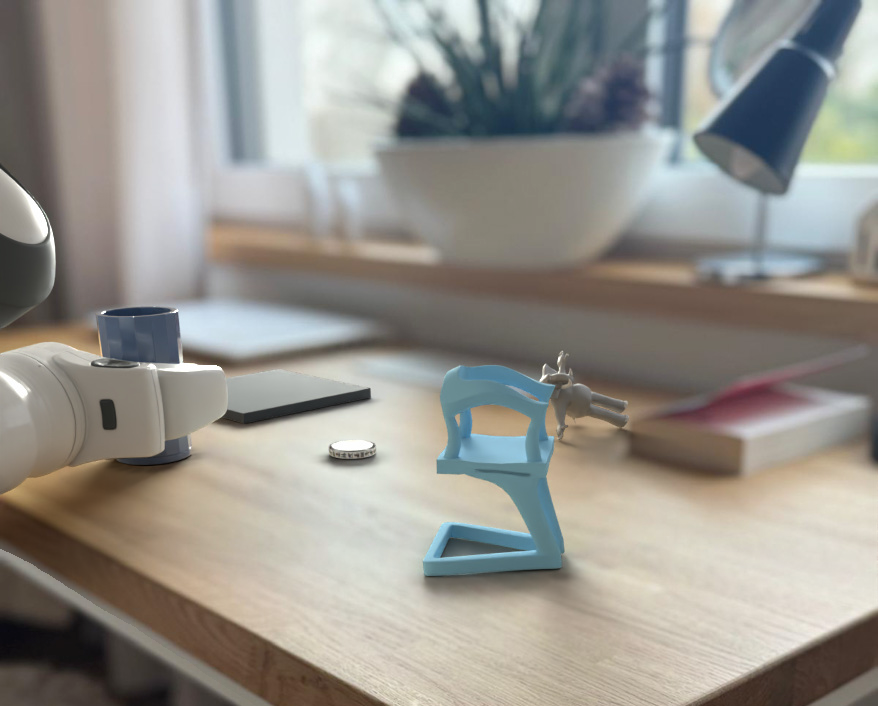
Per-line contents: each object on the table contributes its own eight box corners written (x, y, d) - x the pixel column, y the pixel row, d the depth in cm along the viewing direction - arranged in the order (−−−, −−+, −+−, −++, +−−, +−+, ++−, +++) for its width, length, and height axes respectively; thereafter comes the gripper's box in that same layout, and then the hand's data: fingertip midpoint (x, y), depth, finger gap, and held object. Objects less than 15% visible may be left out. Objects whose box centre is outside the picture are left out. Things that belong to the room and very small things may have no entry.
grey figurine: (643, 442, 95) (551, 412, 92) (607, 477, 100) (520, 449, 97) (640, 355, 100) (553, 324, 97) (606, 392, 104) (523, 363, 102)
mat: (155, 399, 113) (154, 390, 113) (279, 377, 124) (278, 368, 123) (244, 423, 103) (243, 413, 102) (371, 397, 113) (370, 387, 112)
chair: (559, 583, 64) (565, 381, 59) (421, 576, 65) (417, 378, 61) (567, 540, 71) (573, 356, 66) (442, 534, 72) (440, 354, 68)
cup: (101, 455, 92) (81, 312, 88) (166, 441, 96) (151, 304, 92) (139, 469, 88) (121, 319, 83) (206, 454, 92) (192, 310, 88)
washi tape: (375, 445, 94) (375, 438, 94) (376, 457, 90) (376, 450, 90) (329, 447, 94) (329, 440, 93) (328, 459, 90) (327, 451, 90)
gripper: (-63, 439, 82) (50, 401, 94) (174, 458, 76) (262, 415, 89) (-78, 356, 80) (39, 328, 92) (165, 369, 74) (256, 337, 86)
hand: (150, 371), depth 90 cm, fingers closed on cup, 6 cm apart
